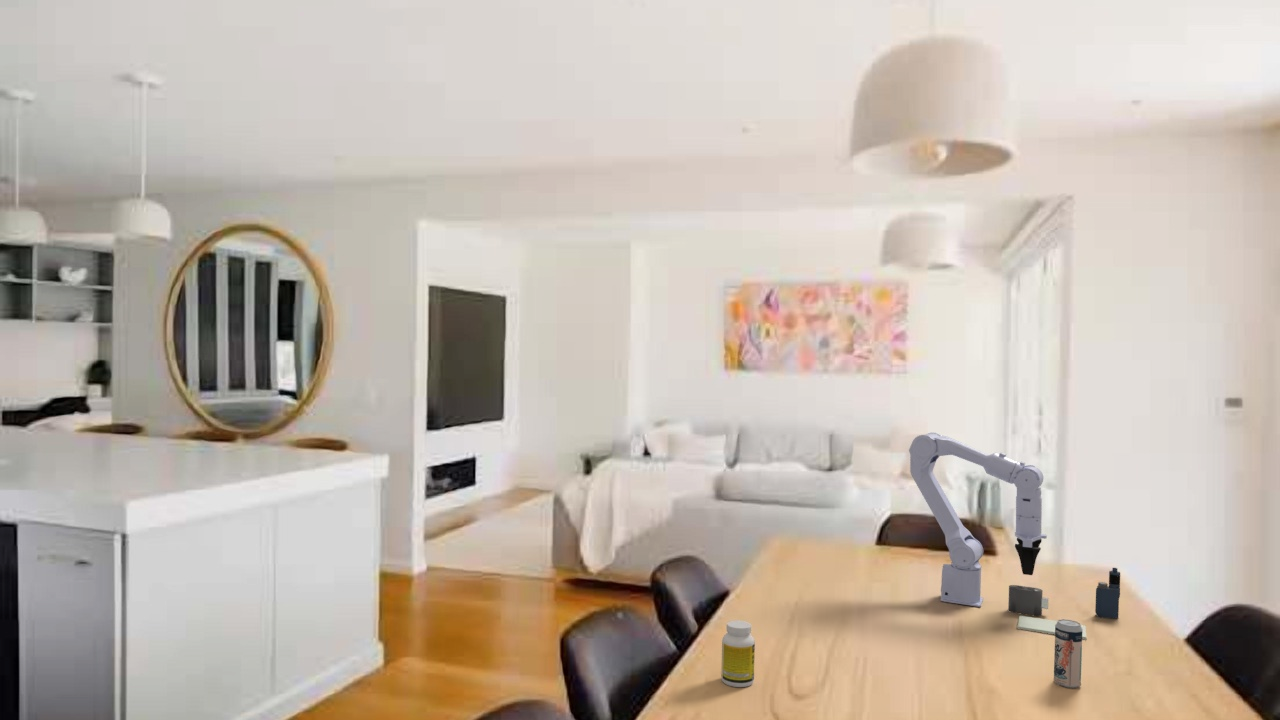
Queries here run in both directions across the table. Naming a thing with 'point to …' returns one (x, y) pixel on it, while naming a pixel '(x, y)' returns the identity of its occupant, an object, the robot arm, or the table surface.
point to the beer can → (1068, 653)
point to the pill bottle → (738, 654)
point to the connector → (1026, 600)
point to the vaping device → (1108, 596)
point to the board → (1041, 625)
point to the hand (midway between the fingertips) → (1028, 570)
